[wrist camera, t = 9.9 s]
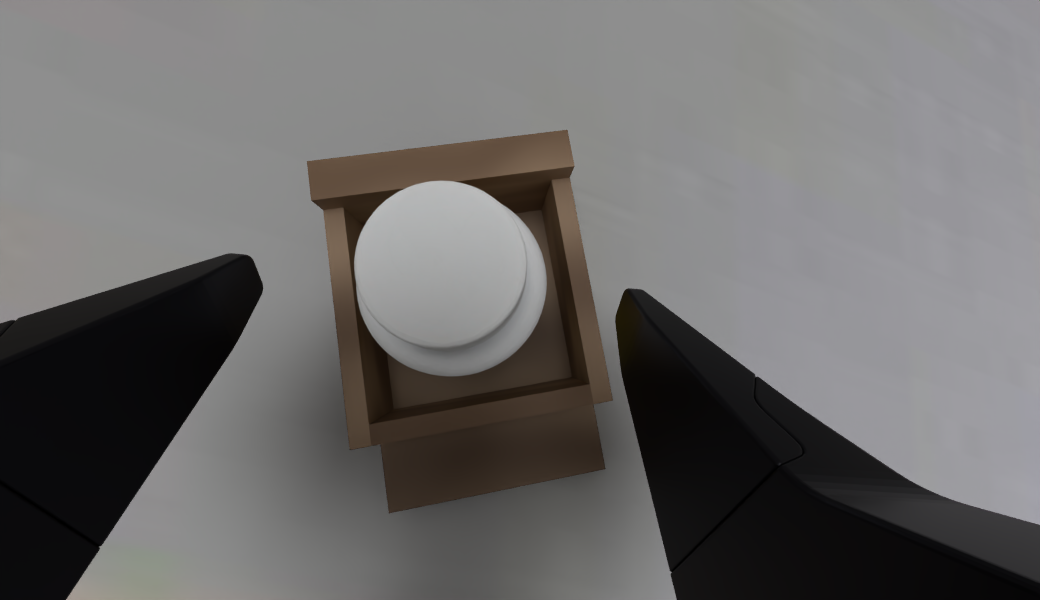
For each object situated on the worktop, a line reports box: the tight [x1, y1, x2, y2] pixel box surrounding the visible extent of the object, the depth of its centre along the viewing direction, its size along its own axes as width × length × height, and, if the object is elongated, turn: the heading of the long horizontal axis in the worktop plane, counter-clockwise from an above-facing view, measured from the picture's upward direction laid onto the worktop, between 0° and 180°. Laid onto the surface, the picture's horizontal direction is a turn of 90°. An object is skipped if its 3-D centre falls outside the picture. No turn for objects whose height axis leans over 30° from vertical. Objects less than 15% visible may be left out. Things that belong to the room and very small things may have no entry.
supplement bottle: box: [354, 181, 547, 376], centre depth 13 cm, size 6×6×10 cm
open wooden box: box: [307, 130, 613, 513], centre depth 17 cm, size 15×10×6 cm
